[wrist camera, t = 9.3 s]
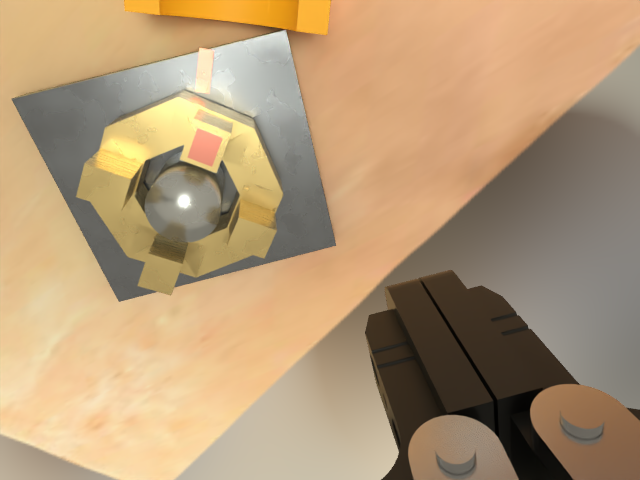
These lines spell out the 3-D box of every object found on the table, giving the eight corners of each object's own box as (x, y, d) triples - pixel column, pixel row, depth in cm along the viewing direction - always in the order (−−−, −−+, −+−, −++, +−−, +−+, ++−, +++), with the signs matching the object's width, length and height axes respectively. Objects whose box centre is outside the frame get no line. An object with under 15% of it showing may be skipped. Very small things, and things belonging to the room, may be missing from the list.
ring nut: (70, 137, 33) (29, 165, 27) (232, 70, 33) (227, 83, 27) (159, 275, 39) (142, 323, 33) (298, 220, 39) (306, 258, 33)
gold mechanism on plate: (123, 292, 42) (98, 345, 35) (19, 91, 33) (-40, 111, 26) (333, 238, 42) (348, 280, 35) (283, 25, 33) (291, 28, 27)
